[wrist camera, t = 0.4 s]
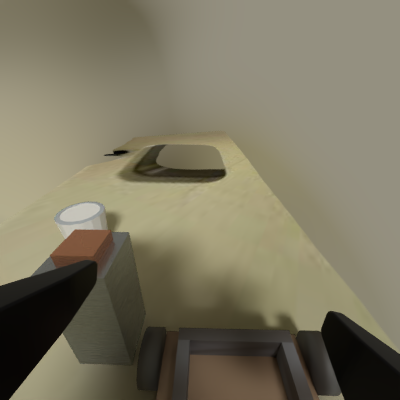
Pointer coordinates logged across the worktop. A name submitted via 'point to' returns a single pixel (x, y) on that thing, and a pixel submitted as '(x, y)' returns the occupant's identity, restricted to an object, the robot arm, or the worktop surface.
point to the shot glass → (81, 218)
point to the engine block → (103, 297)
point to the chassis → (235, 365)
